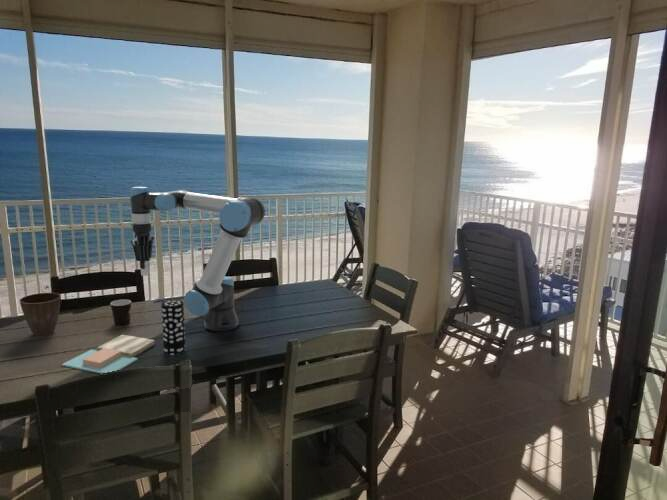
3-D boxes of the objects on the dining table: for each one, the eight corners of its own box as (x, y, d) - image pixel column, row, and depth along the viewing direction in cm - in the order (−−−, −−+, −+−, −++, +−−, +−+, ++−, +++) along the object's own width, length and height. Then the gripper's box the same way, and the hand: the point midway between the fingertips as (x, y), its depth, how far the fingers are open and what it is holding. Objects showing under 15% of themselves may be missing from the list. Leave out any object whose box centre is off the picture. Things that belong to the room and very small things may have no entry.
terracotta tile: (122, 355, 185) (121, 351, 185) (100, 367, 175) (99, 362, 174) (105, 352, 187) (104, 347, 187) (82, 364, 177) (82, 359, 177)
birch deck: (154, 344, 197) (154, 340, 197) (131, 358, 184) (130, 353, 184) (122, 339, 202) (122, 334, 202) (97, 352, 189) (97, 347, 189)
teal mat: (137, 359, 184) (137, 358, 183) (110, 375, 170) (110, 374, 170) (91, 350, 190) (91, 349, 190) (62, 365, 177) (61, 364, 177)
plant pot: (27, 329, 210) (23, 294, 206) (65, 325, 215) (62, 291, 212) (20, 342, 196) (16, 304, 193) (62, 337, 202) (58, 301, 199)
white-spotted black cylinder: (166, 346, 196) (164, 299, 192) (187, 346, 197) (185, 299, 193) (161, 355, 188) (158, 306, 184) (182, 354, 189) (180, 306, 184)
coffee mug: (125, 327, 214) (123, 306, 212) (107, 325, 216) (106, 304, 214) (140, 318, 226) (139, 298, 223) (123, 317, 227) (122, 296, 225)
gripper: (143, 220, 215) (146, 270, 220) (124, 224, 203) (127, 278, 208) (158, 221, 213) (161, 272, 218) (139, 225, 201) (142, 279, 206)
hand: (144, 275), depth 213 cm, fingers closed
